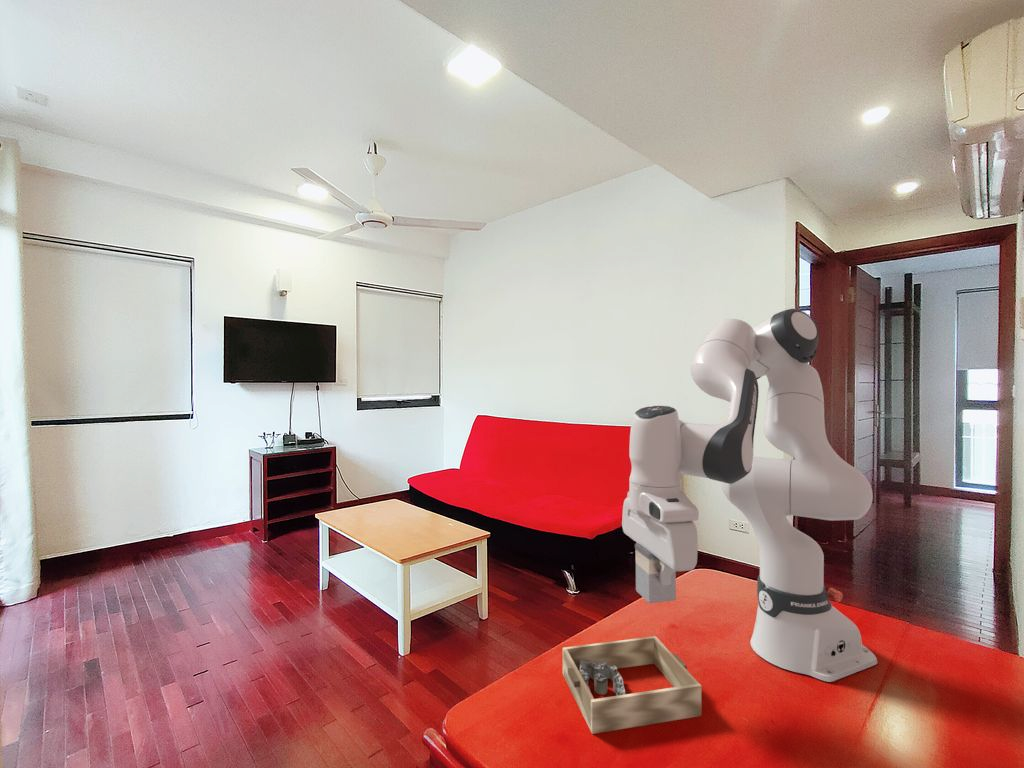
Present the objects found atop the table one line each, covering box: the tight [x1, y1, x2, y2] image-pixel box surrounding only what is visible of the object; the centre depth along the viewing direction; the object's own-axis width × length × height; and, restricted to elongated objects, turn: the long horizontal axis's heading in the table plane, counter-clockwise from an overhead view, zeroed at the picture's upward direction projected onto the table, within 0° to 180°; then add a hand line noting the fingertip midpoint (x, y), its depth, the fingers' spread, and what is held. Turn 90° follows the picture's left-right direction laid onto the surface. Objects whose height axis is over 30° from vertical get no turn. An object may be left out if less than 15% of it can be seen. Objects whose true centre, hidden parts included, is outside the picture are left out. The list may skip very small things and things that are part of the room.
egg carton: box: [580, 660, 626, 696], centre depth 81 cm, size 11×8×4 cm
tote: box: [562, 635, 702, 735], centre depth 82 cm, size 21×15×5 cm
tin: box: [634, 543, 677, 604], centre depth 83 cm, size 5×5×8 cm
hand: (654, 575), depth 83 cm, fingers closed on tin, 5 cm apart
